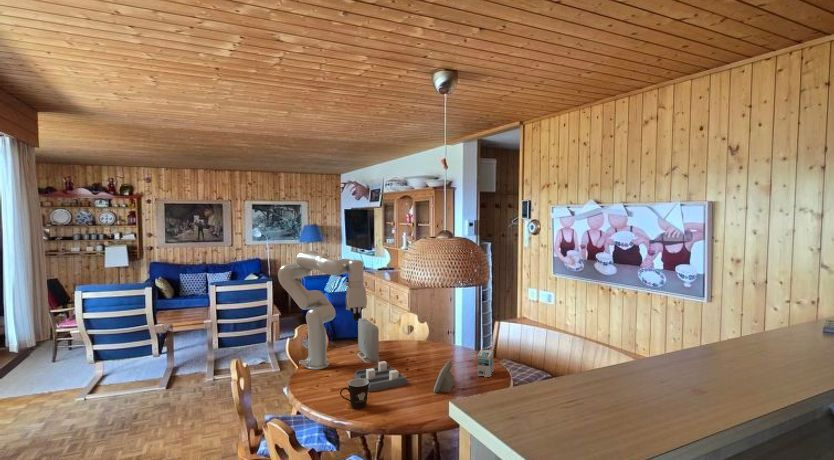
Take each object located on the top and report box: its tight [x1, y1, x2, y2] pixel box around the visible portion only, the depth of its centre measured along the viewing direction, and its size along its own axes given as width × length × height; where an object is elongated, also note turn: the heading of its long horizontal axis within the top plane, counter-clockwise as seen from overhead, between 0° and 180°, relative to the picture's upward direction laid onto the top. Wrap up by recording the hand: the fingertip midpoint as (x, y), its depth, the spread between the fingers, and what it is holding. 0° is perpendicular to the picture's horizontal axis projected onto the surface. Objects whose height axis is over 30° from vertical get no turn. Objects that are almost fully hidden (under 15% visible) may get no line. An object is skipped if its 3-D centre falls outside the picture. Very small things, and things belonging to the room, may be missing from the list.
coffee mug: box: [339, 378, 369, 410], centre depth 177 cm, size 12×9×10 cm
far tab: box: [377, 360, 388, 371], centre depth 213 cm, size 4×3×4 cm
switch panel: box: [353, 364, 409, 393], centre depth 205 cm, size 20×20×3 cm
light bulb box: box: [476, 349, 494, 378], centre depth 214 cm, size 11×7×11 cm, turn 161°
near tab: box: [389, 369, 399, 380], centre depth 201 cm, size 4×3×4 cm
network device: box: [357, 317, 381, 364], centre depth 239 cm, size 26×9×20 cm, turn 25°
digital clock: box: [433, 360, 455, 394], centre depth 196 cm, size 16×9×11 cm, turn 150°
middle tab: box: [365, 367, 375, 379], centre depth 203 cm, size 4×3×4 cm
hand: (356, 320), depth 215 cm, fingers closed
